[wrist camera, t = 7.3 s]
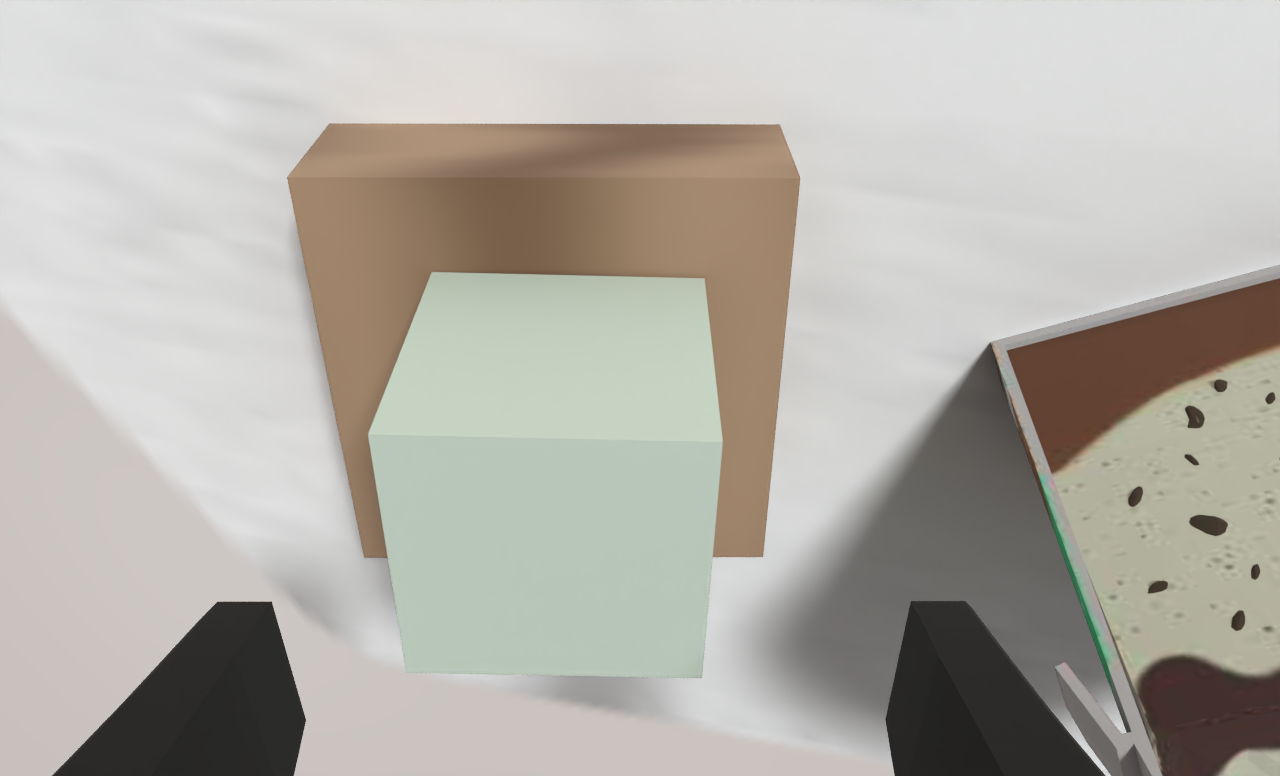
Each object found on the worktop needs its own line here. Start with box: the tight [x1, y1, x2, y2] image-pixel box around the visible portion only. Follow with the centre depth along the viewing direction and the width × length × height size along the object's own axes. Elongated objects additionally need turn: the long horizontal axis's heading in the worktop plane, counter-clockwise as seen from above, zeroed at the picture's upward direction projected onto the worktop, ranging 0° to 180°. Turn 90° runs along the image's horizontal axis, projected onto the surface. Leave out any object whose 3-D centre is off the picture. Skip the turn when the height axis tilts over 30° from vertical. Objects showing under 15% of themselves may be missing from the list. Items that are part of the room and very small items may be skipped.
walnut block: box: [287, 124, 800, 558], centre depth 19 cm, size 8×8×3 cm
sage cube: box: [368, 272, 723, 678], centre depth 16 cm, size 4×4×4 cm
